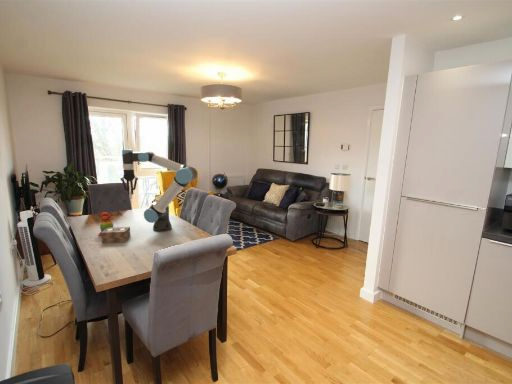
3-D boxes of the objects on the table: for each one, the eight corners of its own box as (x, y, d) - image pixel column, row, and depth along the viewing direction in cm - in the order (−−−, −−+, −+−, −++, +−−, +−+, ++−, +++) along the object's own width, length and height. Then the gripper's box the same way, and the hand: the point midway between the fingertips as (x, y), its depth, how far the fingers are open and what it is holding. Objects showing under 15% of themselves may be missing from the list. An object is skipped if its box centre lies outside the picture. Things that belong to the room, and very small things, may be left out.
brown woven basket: (130, 236, 206) (129, 226, 205) (125, 242, 194) (124, 231, 193) (108, 237, 203) (107, 227, 202) (102, 243, 192) (101, 232, 190)
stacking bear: (97, 236, 205) (95, 214, 202) (101, 232, 215) (99, 211, 212) (113, 235, 208) (111, 213, 205) (116, 231, 218) (114, 210, 215)
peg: (114, 238, 200) (113, 228, 199) (112, 240, 196) (111, 230, 195) (108, 238, 200) (107, 229, 198) (106, 240, 196) (105, 230, 194)
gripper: (138, 168, 212) (140, 197, 216) (120, 168, 209) (123, 198, 213) (136, 169, 205) (138, 199, 209) (118, 169, 202) (120, 199, 206)
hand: (130, 198), depth 211 cm, fingers closed
